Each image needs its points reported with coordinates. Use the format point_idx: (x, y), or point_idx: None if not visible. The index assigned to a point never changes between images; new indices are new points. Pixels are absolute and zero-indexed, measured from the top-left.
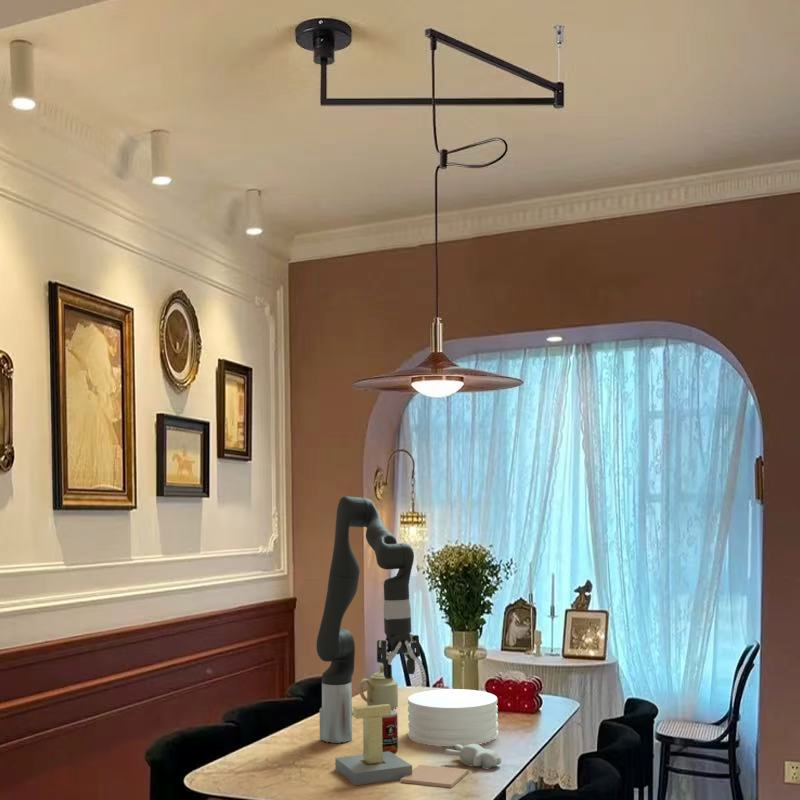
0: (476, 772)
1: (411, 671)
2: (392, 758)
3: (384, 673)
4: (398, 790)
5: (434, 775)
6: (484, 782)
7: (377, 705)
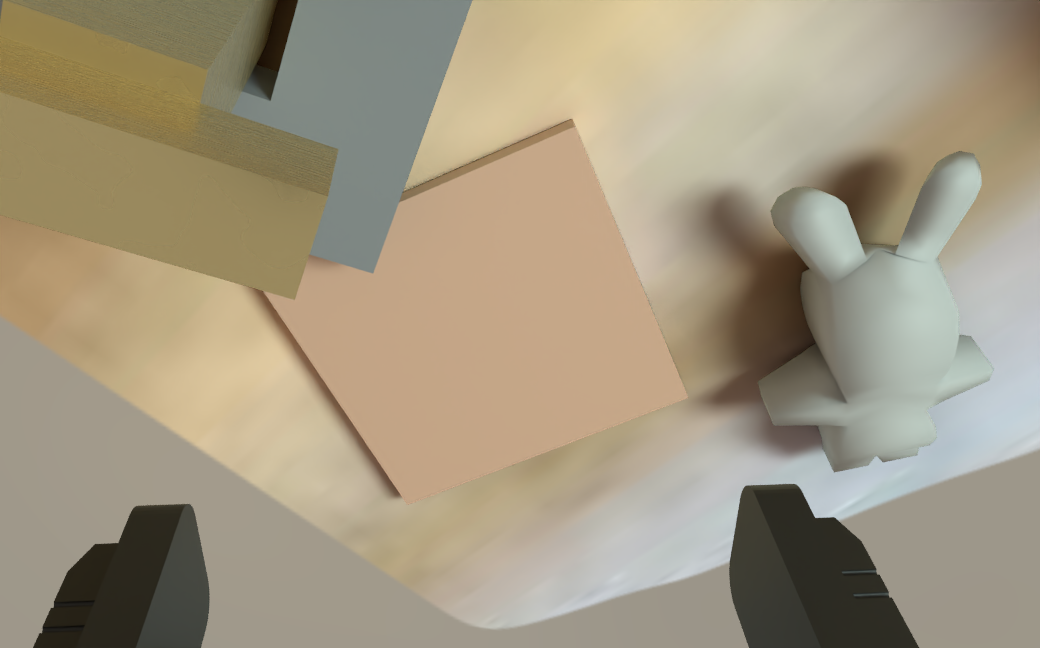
0: (716, 409)
1: (741, 601)
2: (390, 37)
3: (63, 610)
4: (143, 355)
5: (459, 351)
6: (594, 532)
7: (149, 174)
